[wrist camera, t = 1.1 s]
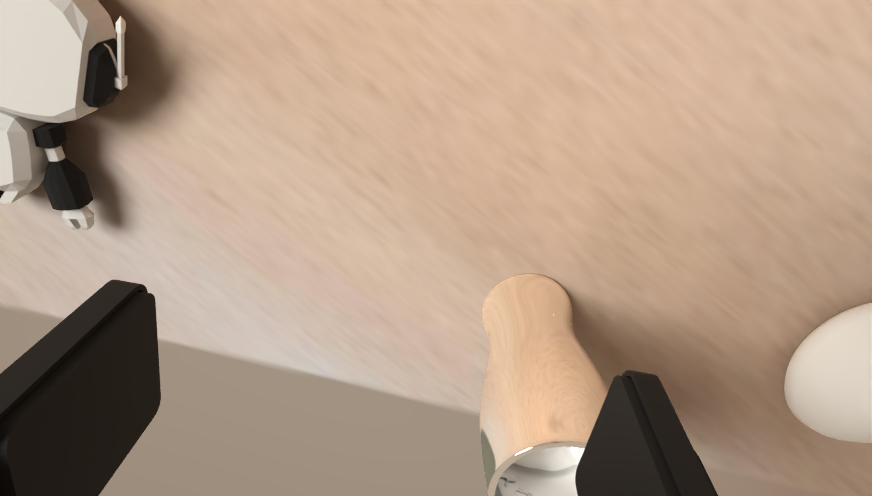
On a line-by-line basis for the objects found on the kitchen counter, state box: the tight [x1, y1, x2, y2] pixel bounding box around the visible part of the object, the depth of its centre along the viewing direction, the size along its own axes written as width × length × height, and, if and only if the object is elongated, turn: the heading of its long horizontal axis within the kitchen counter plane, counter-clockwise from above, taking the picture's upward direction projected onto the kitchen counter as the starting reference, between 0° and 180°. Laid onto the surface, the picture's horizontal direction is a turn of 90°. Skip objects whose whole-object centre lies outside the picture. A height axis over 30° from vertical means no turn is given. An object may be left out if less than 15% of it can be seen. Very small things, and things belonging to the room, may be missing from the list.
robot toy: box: [0, 0, 127, 230], centre depth 31 cm, size 12×4×15 cm
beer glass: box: [480, 274, 609, 496], centre depth 31 cm, size 7×7×15 cm
